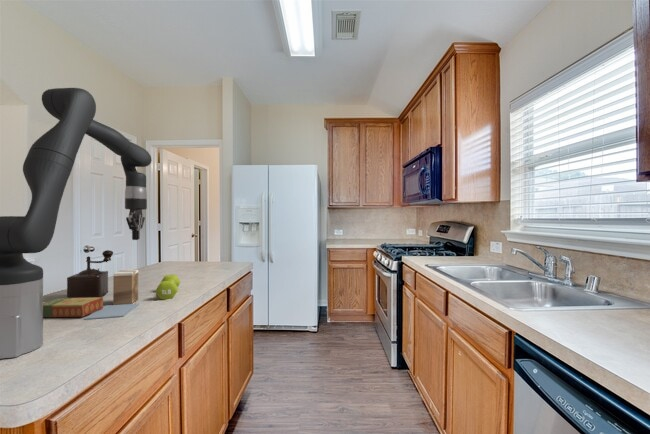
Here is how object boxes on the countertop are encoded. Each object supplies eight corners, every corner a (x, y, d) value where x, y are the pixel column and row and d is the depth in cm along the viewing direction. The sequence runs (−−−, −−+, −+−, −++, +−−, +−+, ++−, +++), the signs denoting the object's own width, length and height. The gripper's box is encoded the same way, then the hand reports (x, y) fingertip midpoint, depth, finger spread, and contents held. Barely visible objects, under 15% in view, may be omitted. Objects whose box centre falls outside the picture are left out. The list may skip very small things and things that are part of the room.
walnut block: (131, 304, 104) (132, 272, 104) (113, 305, 102) (113, 273, 102) (138, 299, 110) (138, 269, 110) (120, 301, 108) (120, 270, 108)
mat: (123, 316, 91) (123, 315, 91) (83, 319, 89) (83, 318, 89) (138, 304, 104) (138, 303, 104) (104, 306, 101) (104, 305, 101)
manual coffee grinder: (100, 299, 110) (101, 254, 110) (65, 301, 107) (66, 255, 106) (114, 289, 125) (115, 249, 125) (84, 291, 121) (84, 250, 121)
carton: (82, 317, 90) (82, 304, 89) (34, 317, 90) (34, 304, 90) (103, 308, 98) (103, 296, 98) (59, 308, 98) (59, 296, 98)
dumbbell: (177, 299, 111) (177, 281, 111) (154, 301, 108) (154, 283, 108) (180, 289, 127) (181, 273, 126) (160, 290, 123) (160, 274, 123)
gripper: (140, 197, 109) (140, 241, 109) (151, 199, 122) (151, 238, 122) (118, 196, 107) (117, 241, 107) (132, 198, 120) (132, 238, 120)
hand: (135, 239), depth 114 cm, fingers closed
